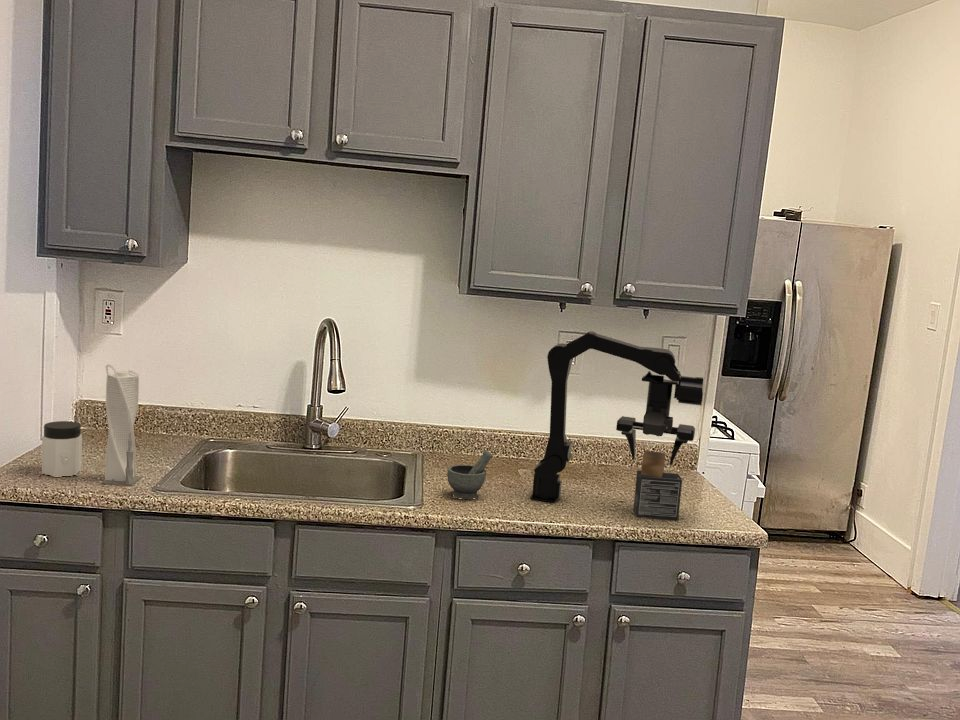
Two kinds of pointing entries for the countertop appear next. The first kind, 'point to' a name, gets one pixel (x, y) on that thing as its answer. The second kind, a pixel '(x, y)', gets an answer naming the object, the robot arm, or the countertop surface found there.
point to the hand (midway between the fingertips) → (651, 462)
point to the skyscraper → (121, 427)
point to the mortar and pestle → (468, 477)
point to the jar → (61, 448)
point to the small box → (657, 496)
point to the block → (653, 464)
